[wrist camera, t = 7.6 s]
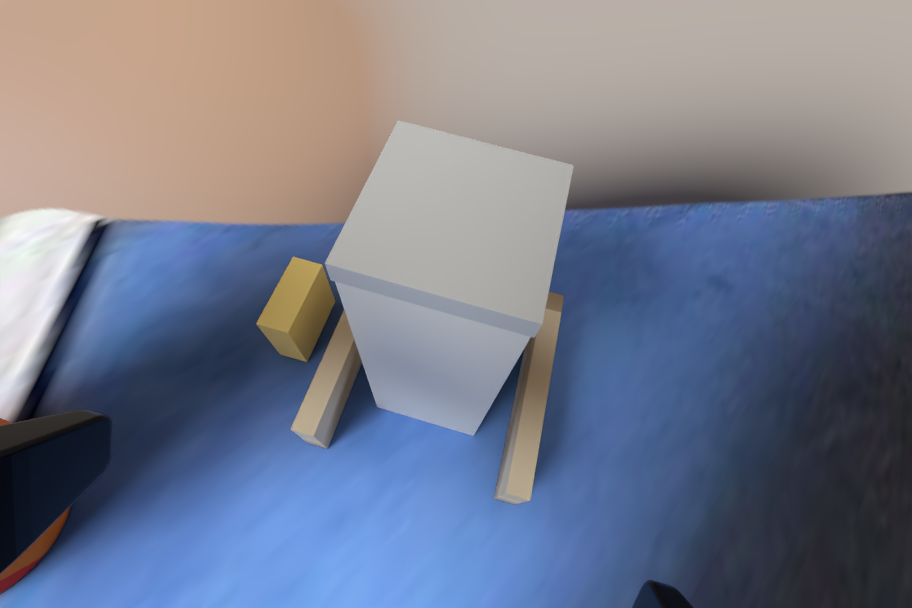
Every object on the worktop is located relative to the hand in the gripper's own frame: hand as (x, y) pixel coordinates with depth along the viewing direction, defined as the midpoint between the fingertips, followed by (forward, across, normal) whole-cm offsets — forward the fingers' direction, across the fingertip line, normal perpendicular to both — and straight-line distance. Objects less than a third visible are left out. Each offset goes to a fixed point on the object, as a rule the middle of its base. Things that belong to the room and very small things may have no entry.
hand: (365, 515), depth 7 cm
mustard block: (+11, +6, +2) cm, 13 cm away
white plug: (+11, 0, +2) cm, 11 cm away
